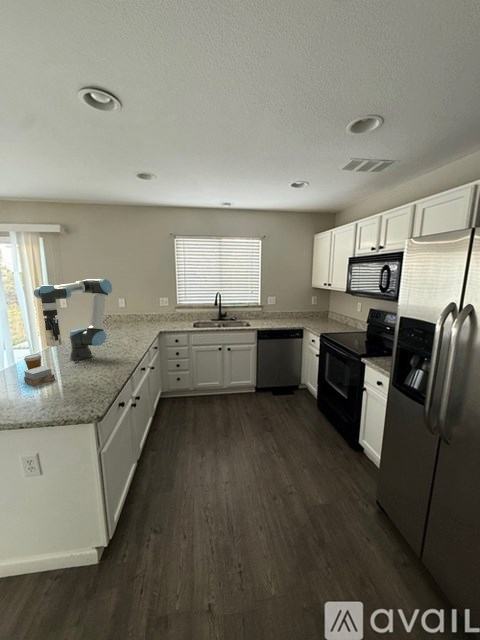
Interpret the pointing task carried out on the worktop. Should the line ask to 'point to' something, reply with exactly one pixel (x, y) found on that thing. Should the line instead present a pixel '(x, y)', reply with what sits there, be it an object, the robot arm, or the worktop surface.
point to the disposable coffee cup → (33, 361)
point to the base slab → (39, 380)
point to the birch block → (51, 338)
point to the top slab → (37, 372)
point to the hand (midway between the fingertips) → (54, 344)
